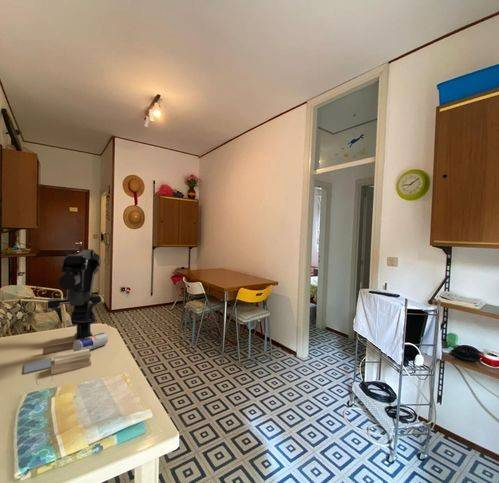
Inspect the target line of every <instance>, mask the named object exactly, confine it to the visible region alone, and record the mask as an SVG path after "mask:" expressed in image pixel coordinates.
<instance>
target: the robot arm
mask: <svg viewBox="0 0 499 483" xmlns="http://www.w3.org/2000/svg"><path fill="white" fill-rule="evenodd" d="M101 266H102V258H101V256H100V255H99V254H97V253H96V252H95V249H92V248H91V249H90V248H89V249H87V248H86V249H85V248H84V249H82V250H81V251H80V252H78V253H76V254H67V255H66V257H65V258H64V260H63V264H62V267H61V271H60V272H61V273H64V275H62V276H61V277H60V278H59V279H58V285H59V287H60V288H61V289H63V290H67V291H66V298H65V299H60V298H59V297H56V298H48V299H47V301H46V306H47V309H50V310H51V311H55V312H56V314H57V316H58V319H59V322H60V323H61V324H63V317H62V315H63V314H62V309H61V305H68V304H69V306H70V307H73V310H72V312H71V316H70V317H71V325H72V326H73V325H76V333H74V338H75V340H79V339H84V338H87V337H90V336H93V332H92V330H91V329H92V328H91V325H92V324H94V323H96V314H95V311H94V307H95V306H97V305H98V304H100V303H101V302H102V297H101V296H100V295H99V293H97V294H95V293H94V294H92V292H93V286H94V279H95V275H96V273H97V272H99V270H100V267H101Z"/></svg>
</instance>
